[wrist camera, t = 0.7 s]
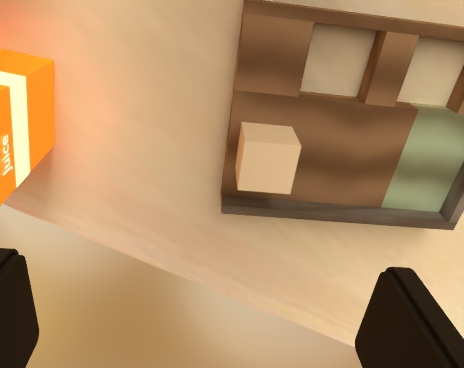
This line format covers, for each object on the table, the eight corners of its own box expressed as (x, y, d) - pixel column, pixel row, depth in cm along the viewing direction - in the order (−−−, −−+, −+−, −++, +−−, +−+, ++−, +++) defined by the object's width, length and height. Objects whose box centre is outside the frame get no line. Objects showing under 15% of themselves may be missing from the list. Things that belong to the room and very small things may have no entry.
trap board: (244, -2, 32) (248, 2, 29) (519, 34, 35) (552, 41, 31) (220, 192, 42) (221, 213, 39) (434, 209, 45) (453, 230, 41)
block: (241, 121, 36) (244, 140, 32) (292, 126, 36) (301, 146, 32) (235, 167, 38) (237, 190, 34) (282, 171, 39) (290, 194, 35)
